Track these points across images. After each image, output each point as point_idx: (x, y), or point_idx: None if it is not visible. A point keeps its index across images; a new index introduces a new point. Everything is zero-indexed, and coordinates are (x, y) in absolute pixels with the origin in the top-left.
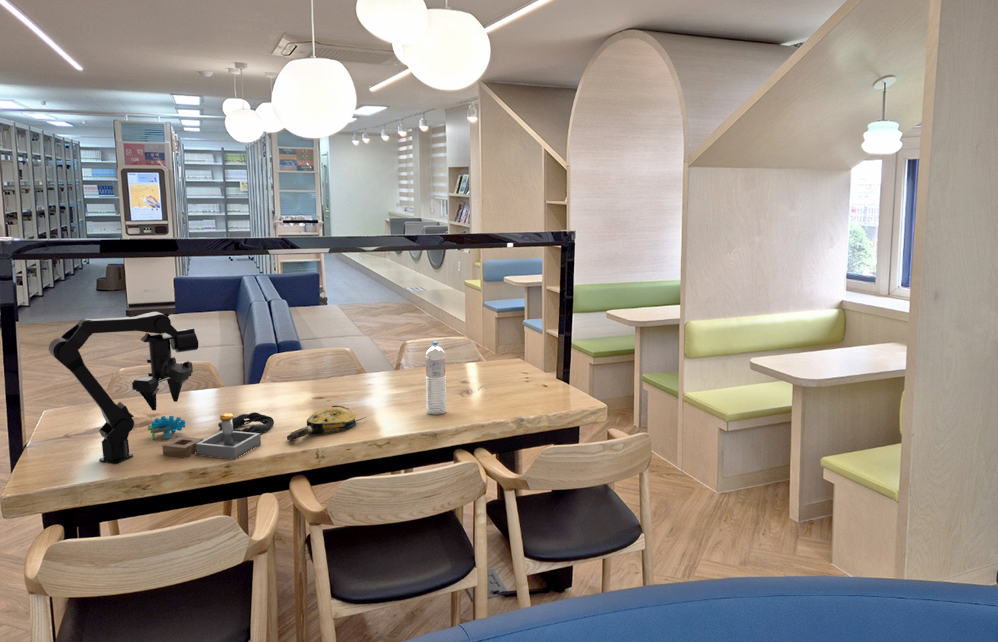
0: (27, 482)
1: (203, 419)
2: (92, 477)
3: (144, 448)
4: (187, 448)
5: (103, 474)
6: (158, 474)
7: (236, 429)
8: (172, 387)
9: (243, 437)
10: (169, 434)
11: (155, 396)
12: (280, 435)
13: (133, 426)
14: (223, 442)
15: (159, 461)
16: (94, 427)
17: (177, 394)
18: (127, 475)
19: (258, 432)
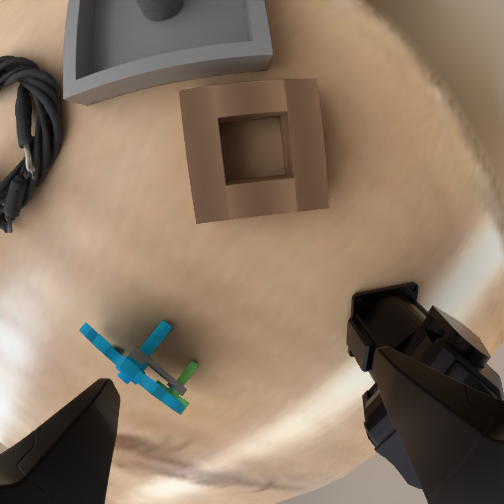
0: (492, 344)
1: (13, 344)
2: (484, 255)
3: (276, 323)
4: (303, 80)
5: (472, 247)
6: (443, 90)
7: (18, 118)
8: (84, 499)
9: (87, 8)
10: (154, 332)
11: (477, 416)
12: (15, 12)
13: (428, 336)
14: (174, 2)
15: (369, 164)
16: (205, 486)
17: (78, 417)
18: (469, 177)
19: (13, 56)
